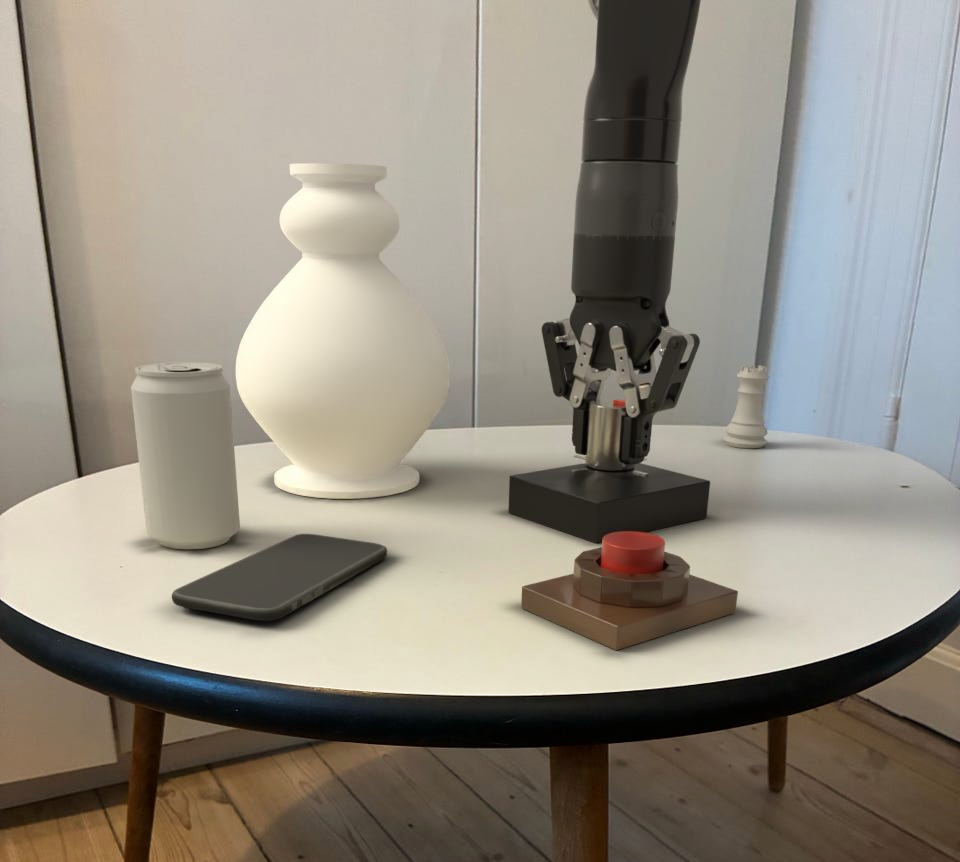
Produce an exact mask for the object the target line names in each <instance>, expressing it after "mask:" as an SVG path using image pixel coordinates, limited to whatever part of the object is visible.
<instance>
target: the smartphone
mask: <svg viewBox="0 0 960 862" xmlns="http://www.w3.org/2000/svg"><path fill="white" fill-rule="evenodd" d="M387 554H388V549H387V547H386V545H383V544H382V543H378V542H377V543H376V542H370V541H364V540H363V541H362V540H357V539H348V538H341V537H336V536H335V537H334V536H328V535H320V534H314V533H299V534H295V535H292V536H290V537H288V538H286V539H283V540H281V541H279V542H276V543H275V544H273V545H270V546H269V547H266V548H264V549H261V550H259V551H257V552H254V553H252V554H251V555H249V556H246V557H243V558H242V559H239V560H238V561H235V562H233V563H230V564H229V565H226V566H224V567H222V568H220V569H217V570H215V571H213V572H210V573H209V574H207V575H204V576H202V577H200V578H197V579H196V580H194V581H191V582H189V583H187V584H185V585H182V586H180V587H178V588H176V589H174V590H173V592H172V593H171V600H172V602H173V604H174V605H176V606H178V607H181V608H183V609H187V610H198V611H201V612H209V613H214V614H220V615H225V616H230V617H236V618H242V619H247V620H252V621H253V620H254V621H261V622H263V621H264V622H266V621H267V622H269V621H275V620H279V619H282V618H283V617H285V616H287V615H288V614H290V613H293V612H294V611H295V610H297V609H300V607H302V606H304V605H306V604H308V603H309V602H311V601H313V600H314V599H316V598H318V597H320V596H321V595H323V594H325V593H327V592H329V591H330V590H332V589H334V588H335V587H337V586H339V585H341V584H343V583H344V582H346V581H348V580H349V579H351V578H353V577H355V576H357V575H358V574H360V573H362V572H363V571H365V570H367V569H369V568H370V567H372V566H374V565H376V564H377V563H379V562H380V561H382V560H384V559H386V557H387Z"/></svg>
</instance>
